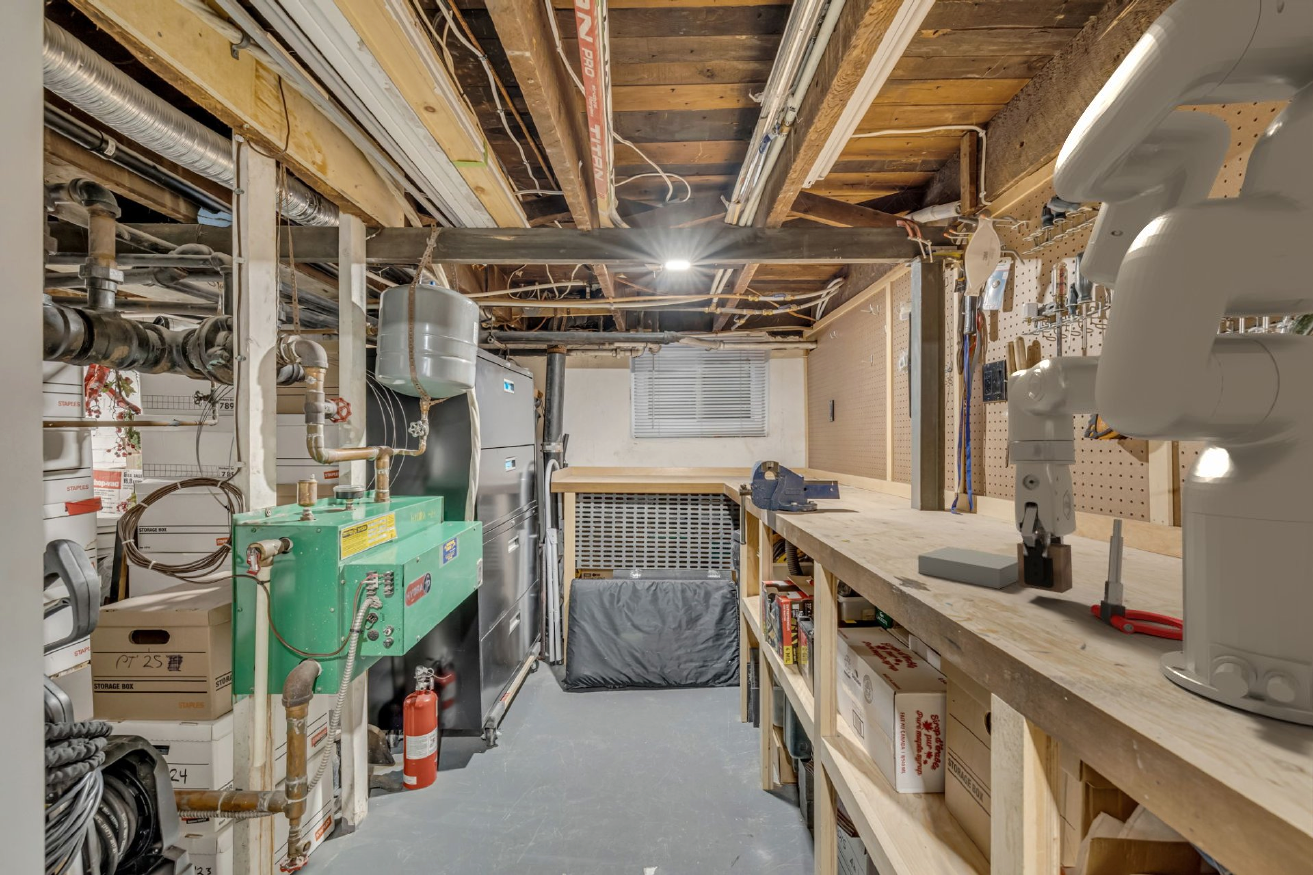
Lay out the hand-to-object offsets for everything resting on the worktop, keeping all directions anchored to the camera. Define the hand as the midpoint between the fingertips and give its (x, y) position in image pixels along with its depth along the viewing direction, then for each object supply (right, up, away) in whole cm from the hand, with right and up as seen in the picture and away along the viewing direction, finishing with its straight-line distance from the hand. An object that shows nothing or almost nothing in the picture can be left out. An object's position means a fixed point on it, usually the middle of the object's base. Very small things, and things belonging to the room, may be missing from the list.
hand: (1045, 581), depth 72 cm
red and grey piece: (+4, -3, -11) cm, 12 cm away
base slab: (-2, -3, +13) cm, 14 cm away
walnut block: (0, -1, 0) cm, 1 cm away
